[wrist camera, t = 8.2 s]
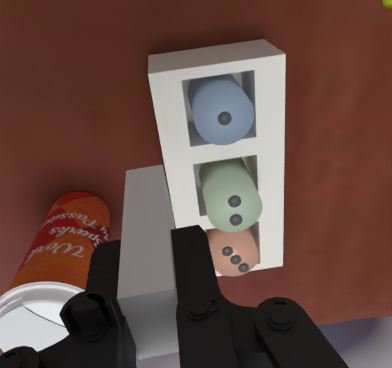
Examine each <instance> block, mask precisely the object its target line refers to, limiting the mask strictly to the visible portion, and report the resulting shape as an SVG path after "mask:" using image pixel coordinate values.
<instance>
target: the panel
mask: <svg viewBox="0 0 392 368" xmlns="http://www.w3.org/2000/svg"><path fill="white" fill-rule="evenodd" d="M285 59H286V54H285V53H283V52H282V51H280V50H279V49H278V48H276V47H275V46H273V45H272V44H270V43H269V42H268V41H266V40H265V39H260V40H253V41H246V42H239V43H232V44H225V45H218V46H211V47H204V48H197V49H190V50H183V51H176V52H169V53H162V54H155V55H149V56H148V77H149V83H150V88H151V94H152V99H153V105H154V110H155V116H156V121H157V126H158V132H159V137H160V143H161V148H162V154H163V159H164V165H165V170H166V176H167V181H168V186H169V192H170V197H171V203H172V208H173V214H174V219H175V225H176V228H182V227H188V226H193V225H199V226H200V227H201V228H202V229H203V230H204V231H205V232H206V229H212V228H216V227H214V226H213V225H212V224H211V223H210V221H209V219H208V215H207V210H206V206H205V201H204V197H203V192H202V188H201V183H200V178H199V170H200V167H201V164H202V163H205V162H212V161H218V160H225V159H232V158H238V157H241V158H242V159H243V161H244V163H245V165H246V167H247V169H248V172H249V174H250V176H251V178H252V180H253V183H254V185H255V187H256V189H257V191H258V194H259V196H260V198H261V200H262V205H263V207H262V213H261V215H260V217H259V219H258V220H257V221H256V222H255V223H254V224H253V225H252V226H250V227H249V228H250V231H251V233H252V236H253V239H254V242H255V244H256V247H257V250H258V253H259V259H258V262H257V264H256V265H255V267H254V268H253V269H251V270H250V271H253V270H259V269H265V268H272V267H278V266H283V210H284V134H285ZM229 73H231V74H232V75H233V77H234V78H235V80H236V81H237V82H238V84H239V85H240V87H241V88H242V90H243V91H244V92H245V94H246V95H247V97H248V98H249V100H250V101H251V103H252V105H253V109H254V120H253V124H252V126H251V128H250V130H249V132H248V133H247V134H246V135H245V136H244V137H243V138H242V139H241V140H239V141H237V142H235V143H233V144H229V145H215V144H211V143H209V142H207V141H206V140H204V139H203V138H202V137H201V136H200V134H199V133H198V131H197V129H196V126H195V123H194V119H193V115H192V111H191V107H190V104H189V100H188V87H189V84H190V82H191V80H192V79H195V78H202V77H209V76H215V75H222V74H229ZM215 272H216V276H222V274H220V273H218V272H217V271H216V270H215Z"/></svg>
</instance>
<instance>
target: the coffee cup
mask: <svg viewBox="0 0 392 368" xmlns="http://www.w3.org/2000/svg"><path fill="white" fill-rule="evenodd" d="M109 232H110V213H109V209H108V207H107V205H106V203H105V202H104V201H103V200H102V199H101V198H99V197H98V196H96V195H94V194H92V193H89V192H85V191H73V192H69V193H66V194H64V195H62V196H61V197H59V198H58V199H57V200H56V202H55V203H54V205H53V206H52V208H51V210H50V211H49V213H48V215H47V217H46V219H45V221H44V222H43V224H42V226H41V228H40V230H39V232H38V234H37V236H36V238H35V239H34V241H33V243H32V245H31V247H30V249H29V251H28V253H27V255H26V257H25V259H24V260H23V262H22V264H21V266H20V268H19V270H18V272H17V274H16V276H15V278H14V280H13V282H12V284H11V285H10V287H9V289H8V291H7V292H6V293H5V294H4V295H2V296H1V297H0V348H1V349H2V350H3V352H6V351H8V350H10V349H12V348H15V347H20V346H28V347H32V348H34V349H35V350H36V352H38V351H40V350H43V349H45V348H47V347H49V346H51V345H53V344H55V343H57V342H59V341H60V340H62V339H64V338H65V337H66V336H67V335H69V333H68V331H67V329H66V327H65V325H64V323H63V322H62V320H61V318H60V316H59V314H60V311H61V309H62V307H63V305H64V304H65V303H66V302H67V301H68V300H69V299H70V298H71V297H73V296H75V295H76V294H78V293H80V292H83V291H85V289H86V283H87V279H88V271H89V265H90V259H91V254H92V253H93V251H94V250H95V248H96V247H97V245H98V244H99V243H104V242H109Z"/></svg>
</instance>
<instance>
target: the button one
mask: <svg viewBox="0 0 392 368" xmlns="http://www.w3.org/2000/svg"><path fill="white" fill-rule="evenodd" d="M188 100H189V104H190V107H191V111H192V115H193V119H194V123H195V126H196V129H197V131H198V133H199V134H200V136H201V137H202V138H203V139H204V140H206V141H207V142H209V143H211V144H215V145H229V144H233V143H235V142H237V141H239V140H241V139H242V138H243V137H244V136H245V135H246V134H247V133H248V132H249V130H250V128H251V126H252V124H253V120H254V109H253V105H252V103H251V101H250V100H249V98H248V97H247V95H246V94H245V92H244V91H243V90H242V88H241V87H240V85H239V84H238V82H237V81H236V80H235V78H234V77H233V75H232V74H231V73H229V74H222V75H215V76H209V77H202V78H195V79H192V80H191V82H190V84H189V87H188Z"/></svg>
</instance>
